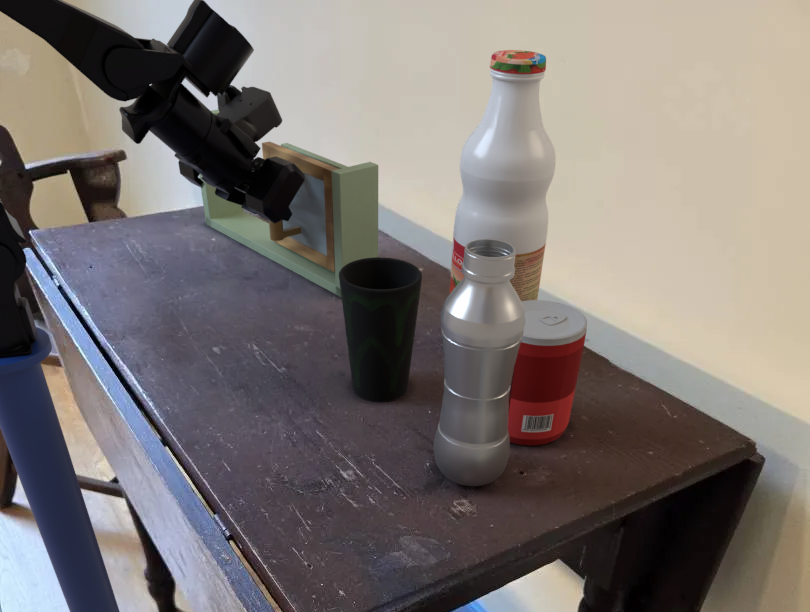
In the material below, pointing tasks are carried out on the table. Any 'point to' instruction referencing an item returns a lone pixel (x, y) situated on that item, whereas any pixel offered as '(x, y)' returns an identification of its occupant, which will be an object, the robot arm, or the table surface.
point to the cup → (380, 324)
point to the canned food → (545, 372)
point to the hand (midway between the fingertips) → (284, 215)
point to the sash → (307, 210)
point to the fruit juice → (508, 172)
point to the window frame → (350, 222)
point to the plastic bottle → (479, 365)
